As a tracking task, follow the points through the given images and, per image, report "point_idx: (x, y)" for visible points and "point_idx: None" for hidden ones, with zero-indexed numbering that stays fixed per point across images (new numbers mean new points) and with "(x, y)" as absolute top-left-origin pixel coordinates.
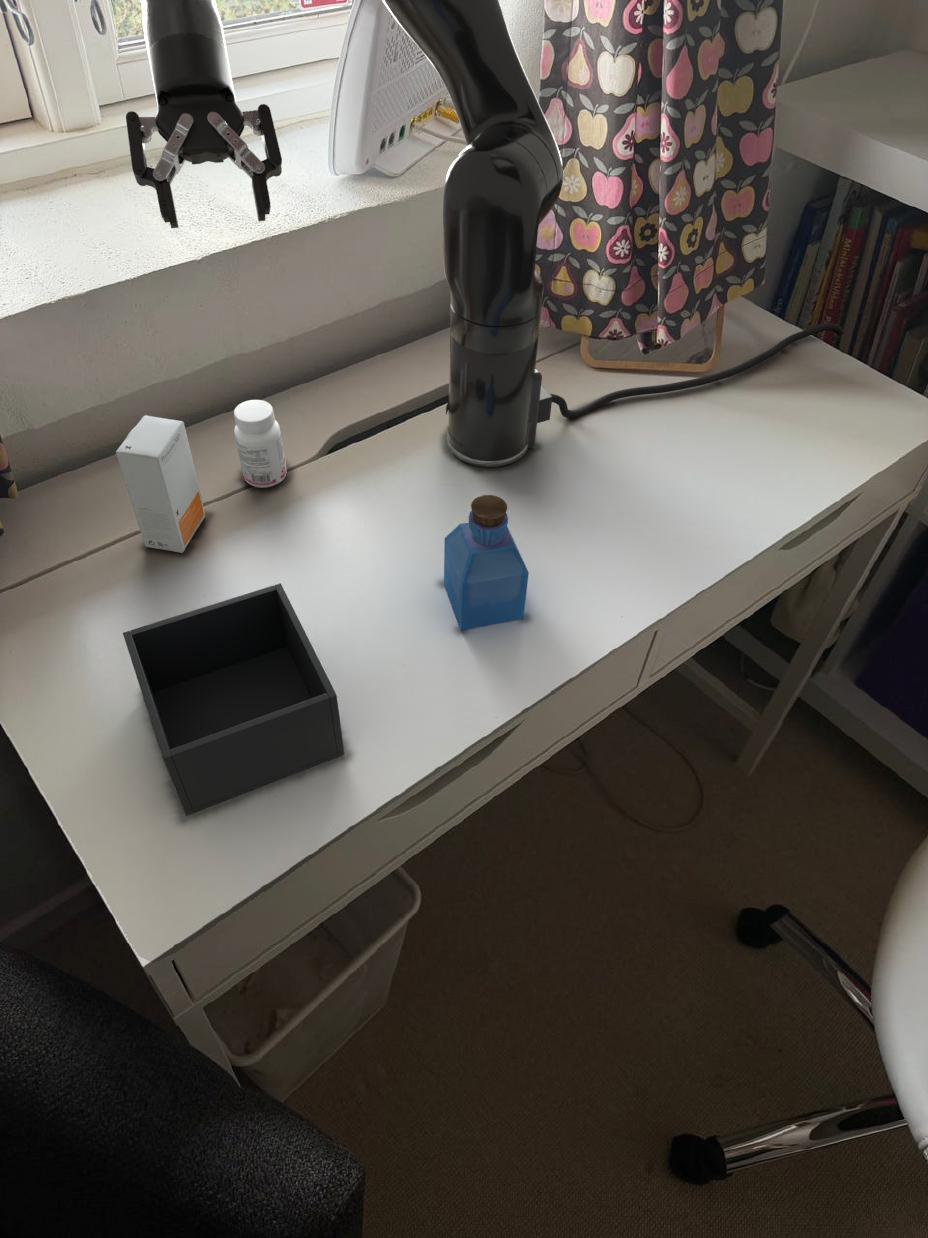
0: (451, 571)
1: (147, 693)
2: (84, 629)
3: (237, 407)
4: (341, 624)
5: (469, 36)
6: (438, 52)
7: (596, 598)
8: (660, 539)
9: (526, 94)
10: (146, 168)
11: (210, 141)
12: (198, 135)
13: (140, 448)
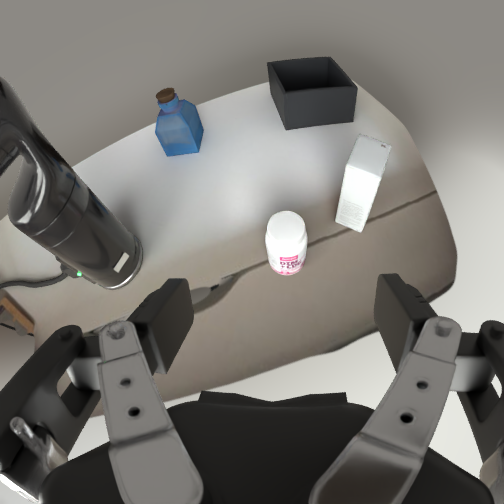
0: (194, 125)
1: (340, 69)
2: (391, 156)
3: (301, 233)
4: (258, 136)
5: None
6: None
7: (139, 143)
8: (93, 173)
9: None
10: (479, 354)
11: (236, 428)
12: (291, 461)
13: (374, 142)
